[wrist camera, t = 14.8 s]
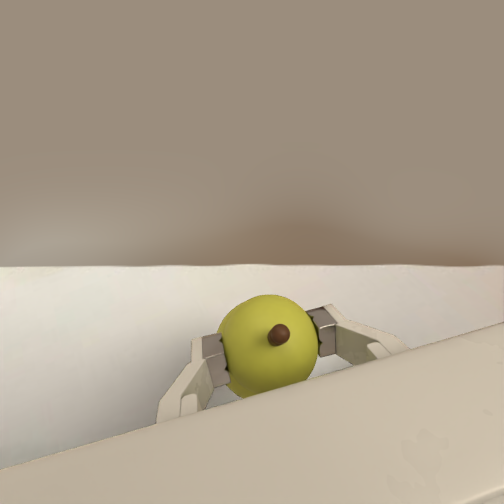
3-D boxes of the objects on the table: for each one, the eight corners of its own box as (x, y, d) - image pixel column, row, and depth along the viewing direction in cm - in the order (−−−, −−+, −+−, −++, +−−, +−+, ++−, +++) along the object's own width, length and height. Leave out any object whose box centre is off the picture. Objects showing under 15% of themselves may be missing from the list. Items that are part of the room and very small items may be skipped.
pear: (225, 407, 17) (208, 461, 7) (212, 317, 19) (185, 268, 10) (311, 385, 18) (396, 408, 8) (288, 301, 20) (333, 241, 10)
